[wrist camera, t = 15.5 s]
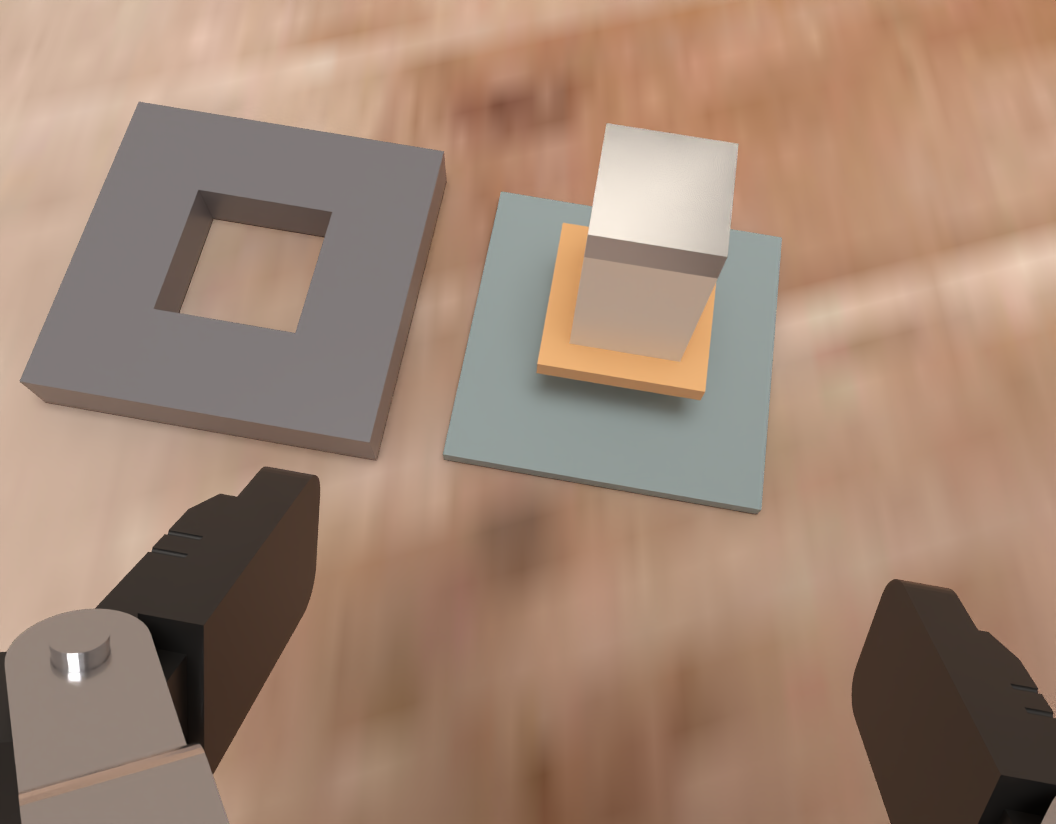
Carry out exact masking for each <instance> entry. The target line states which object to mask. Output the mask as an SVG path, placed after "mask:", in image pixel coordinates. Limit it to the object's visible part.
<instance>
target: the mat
mask: <svg viewBox="0 0 1056 824" xmlns="http://www.w3.org/2000/svg"><path fill="white" fill-rule="evenodd" d="M591 212H592V206H586V205H580V204H574V203H568V202H562V201H556V200H550V199H543V198H537V197H531V196H525V195H519V194H513V193H507V192H501V194H500V199H499V203H498V208H497V212H496V217H495V221H494V226H493V230H492V235H491V239H490V244H489V248H488V253H487V257H486V262H485V267H484V271H483V276H482V280H481V285H480V289H479V294H478V298H477V303H476V307H475V312H474V316H473V321H472V325H471V330H470V334H469V339H468V343H467V348H466V352H465V357H464V362H463V366H462V371H461V375H460V380H459V384H458V389H457V393H456V398H455V402H454V407H453V411H452V416H451V420H450V425H449V429H448V434H447V438H446V443H445V448H444V452H443V457H444V460H450V461H456V462H462V463H467V464H473V465H479V466H484V467H490V468H496V469H502V470H507V471H513V472H519V473H524V474H530V475H536V476H542V477H547V478H553V479H559V480H565V481H570V482H576V483H582V484H587V485H593V486H599V487H605V488H610V489H616V490H622V491H627V492H633V493H639V494H645V495H650V496H656V497H662V498H668V499H673V500H679V501H685V502H690V503H696V504H702V505H708V506H713V507H719V508H725V509H730V510H736V511H742V512H748V513H753V514H758V513H759V512H760V511H761V507H762V494H763V481H764V467H765V454H766V441H767V428H768V414H769V401H770V388H771V374H772V361H773V348H774V335H775V321H776V308H777V295H778V282H779V268H780V255H781V242H782V238H781V237H775V236H769V235H763V234H757V233H751V232H744V231H738V230H732V229H730V237H729V247H728V257H727V259H726V262H725V264H724V266H723V268H722V270H721V273H720V275H719V277H718V279H717V281H716V290H715V300H714V310H713V320H712V330H711V340H710V350H709V360H708V370H707V380H706V390H705V393H704V395H703V397H702V399H701V400H695V399H689V398H683V397H677V396H671V395H665V394H659V393H653V392H647V391H641V390H635V389H629V388H623V387H617V386H611V385H605V384H599V383H593V382H587V381H581V380H575V379H569V378H563V377H557V376H551V375H545V374H539V373H536V372H537V363H538V357H539V352H540V346H541V341H542V335H543V330H544V324H545V318H546V313H547V307H548V302H549V296H550V291H551V285H552V280H553V274H554V269H555V263H556V258H557V252H558V247H559V241H560V236H561V230H562V224H563V223H568V224H575V225H581V226H587V227H589V224H590V218H591Z"/></svg>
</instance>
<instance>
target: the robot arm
mask: <svg viewBox="0 0 1056 824" xmlns="http://www.w3.org/2000/svg"><path fill="white" fill-rule="evenodd" d="M319 503H320V482H319V478H318V477H317V476H316V475H311V474H305V473H300V472H294V471H288V470H283V469H277V468H271V467H263V468H262V469H261V470H260V471H259V472H258V473H257V474H256V476H255V477H254V478H253V479H252V480H251V481H250V483H249V484H248V485H247V486H246V487H245V488H244V490H243V491H242V492H241V493H240V494H239V495H238V497H235V496H230V495H224V494H219V495H216V496H214V497H212V498H210V499H208V500H206V501H204V502H202V503H200V504H198V505H196V506H194V507H192V508H190V509H188V510H187V511H186V512H185V513H184V515H183V516H182V517H181V518H180V519H179V520H178V521H177V522H176V523H175V524H174V525H173V526H172V527H171V528H170V529H169V532H168V535H166V534H165V535H164V536H163V537H162V538H161V539H160V540H159V541H158V542H157V543H156V544H155V545H154V546H153V548H152V552H148V553H147V554H146V555H145V556H144V557H143V558H142V559H141V560H140V561H139V562H138V563H137V564H136V566H135V567H134V568H133V569H132V570H131V571H130V572H129V573H128V574H127V575H126V576H125V577H124V578H123V579H122V580H121V582H120V583H119V584H118V585H117V586H116V587H115V588H114V589H113V590H112V591H111V592H110V593H109V594H108V595H107V596H106V597H105V599H104V600H103V601H102V602H101V603H100V604H99V605H98V606H97V607H96V608H95V609H83V610H76V611H70V612H66V613H62V614H58V615H56V616H53V617H50V618H47V619H45V620H43V621H41V622H38V623H37V624H35V625H33V626H31V627H30V628H28V629H27V630H25V631H24V632H23V633H22V634H20V635H19V636H18V637H17V638H16V639H15V640H14V641H13V642H12V644H11V646H10V647H9V649H8V650H7V652H0V824H229V821H228V818H227V815H226V812H225V809H224V807H223V804H222V801H221V798H220V795H219V792H218V789H217V786H216V783H215V780H214V777H213V774H214V772H215V770H216V768H217V767H218V765H219V763H220V761H221V759H222V758H223V756H224V754H225V752H226V751H227V749H228V747H229V745H230V744H231V742H232V740H233V738H234V736H235V735H236V733H237V731H238V729H239V728H240V726H241V724H242V722H243V721H244V719H245V717H246V715H247V713H248V712H249V710H250V708H251V706H252V705H253V703H254V701H255V699H256V698H257V696H258V694H259V692H260V690H261V689H262V687H263V685H264V683H265V682H266V680H267V678H268V676H269V675H270V673H271V671H272V669H273V667H274V666H275V664H276V662H277V660H278V659H279V657H280V655H281V653H282V652H283V650H284V648H285V646H286V644H287V643H288V641H289V639H290V637H291V636H292V634H293V632H294V630H295V629H296V627H297V625H298V623H299V621H300V620H301V618H302V616H303V614H304V612H305V610H306V608H307V605H308V603H309V600H310V596H311V593H312V589H313V584H314V579H315V572H316V557H317V539H318V521H319ZM852 708H853V713H854V717H855V720H856V723H857V726H858V729H859V732H860V735H861V738H862V740H863V743H864V746H865V749H866V752H867V755H868V758H869V761H870V764H871V767H872V770H873V773H874V776H875V779H876V782H877V784H878V787H879V790H880V793H881V796H882V799H883V802H884V805H885V808H886V811H887V814H888V817H889V820H890V823H891V824H1056V718H1053V711H1052V709H1051V708H1050V706H1049V705H1048V703H1047V702H1046V700H1045V699H1044V697H1043V695H1042V694H1038V688H1037V686H1036V685H1035V683H1034V681H1033V680H1032V678H1031V677H1030V675H1029V674H1028V672H1027V670H1026V669H1025V667H1024V666H1023V664H1022V663H1021V661H1020V660H1019V659H1018V658H1017V657H1016V656H1015V655H1014V654H1013V653H1011V652H1010V651H1009V650H1008V649H1007V648H1006V647H1005V646H1003V645H1002V644H1001V643H1000V642H999V641H998V640H997V639H995V638H994V637H993V636H992V635H991V634H990V633H989V632H985V631H979V630H978V629H977V628H976V626H975V625H974V623H973V621H972V620H971V618H970V616H969V615H968V613H967V611H966V610H965V608H964V606H963V605H962V603H961V601H960V600H959V598H958V596H957V595H956V593H955V592H954V591H953V590H951V589H949V588H943V587H938V586H932V585H926V584H921V583H915V582H909V581H904V580H898V579H894V580H892V581H890V582H889V583H888V585H887V586H886V588H885V590H884V592H883V594H882V596H881V599H880V602H879V605H878V608H877V610H876V613H875V616H874V619H873V621H872V624H871V627H870V630H869V632H868V635H867V638H866V641H865V644H864V646H863V649H862V652H861V655H860V657H859V660H858V663H857V666H856V669H855V672H854V677H853V683H852Z"/></svg>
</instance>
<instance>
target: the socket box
mask: <svg viewBox="0 0 1056 824" xmlns="http://www.w3.org/2000/svg"><path fill="white" fill-rule="evenodd" d="M445 185H446V170H445V158H444V151H438V150H432V149H426V148H420V147H414V146H407V145H401V144H395V143H389V142H383V141H377V140H371V139H364V138H358V137H352V136H346V135H340V134H334V133H328V132H321V131H315V130H309V129H303V128H297V127H291V126H285V125H279V124H272V123H266V122H260V121H254V120H248V119H242V118H236V117H229V116H223V115H217V114H211V113H205V112H199V111H193V110H186V109H180V108H174V107H168V106H162V105H156V104H150V103H143V102H139V103H138V105H137V107H136V110H135V112H134V114H133V117H132V119H131V121H130V124H129V126H128V128H127V131H126V133H125V135H124V138H123V140H122V142H121V145H120V147H119V149H118V152H117V154H116V156H115V159H114V161H113V164H112V166H111V168H110V171H109V173H108V175H107V178H106V180H105V182H104V185H103V187H102V189H101V192H100V194H99V196H98V199H97V201H96V203H95V206H94V208H93V210H92V213H91V215H90V217H89V220H88V222H87V225H86V227H85V229H84V232H83V234H82V236H81V239H80V241H79V243H78V246H77V248H76V250H75V253H74V255H73V257H72V260H71V262H70V264H69V267H68V269H67V271H66V274H65V276H64V278H63V281H62V283H61V286H60V288H59V290H58V293H57V295H56V297H55V300H54V302H53V304H52V307H51V309H50V311H49V314H48V316H47V318H46V321H45V323H44V325H43V328H42V330H41V332H40V335H39V337H38V339H37V342H36V344H35V346H34V349H33V351H32V354H31V356H30V358H29V361H28V363H27V365H26V368H25V370H24V372H23V375H22V377H21V379H20V382H21V383H22V384H23V385H25V386H26V387H27V388H28V389H30V390H31V391H32V392H33V393H35V394H36V395H37V396H38V397H40V398H41V399H42V400H43V401H45V402H46V403H52V404H58V405H63V406H69V407H75V408H80V409H86V410H92V411H98V412H103V413H109V414H115V415H120V416H126V417H132V418H138V419H143V420H149V421H155V422H160V423H166V424H172V425H177V426H183V427H189V428H195V429H200V430H206V431H212V432H217V433H223V434H229V435H235V436H240V437H246V438H252V439H257V440H263V441H269V442H274V443H280V444H286V445H292V446H297V447H303V448H309V449H314V450H320V451H326V452H332V453H337V454H343V455H349V456H354V457H360V458H366V459H371V460H377V457H378V453H379V449H380V445H381V441H382V437H383V433H384V429H385V425H386V421H387V417H388V413H389V409H390V405H391V401H392V397H393V393H394V389H395V385H396V381H397V377H398V373H399V369H400V365H401V361H402V357H403V353H404V349H405V345H406V341H407V337H408V333H409V329H410V325H411V321H412V317H413V313H414V309H415V305H416V301H417V297H418V293H419V289H420V285H421V281H422V277H423V273H424V269H425V265H426V261H427V257H428V253H429V249H430V245H431V241H432V237H433V233H434V229H435V225H436V221H437V217H438V213H439V209H440V205H441V201H442V197H443V193H444V189H445ZM213 218H214V219H220V220H226V221H232V222H238V223H244V224H250V225H256V226H262V227H268V228H274V229H280V230H286V231H292V232H298V233H304V234H310V235H316V236H322V237H325V238H324V241H323V244H322V248H321V251H320V254H319V257H318V261H317V264H316V267H315V271H314V274H313V277H312V280H311V284H310V287H309V290H308V294H307V297H306V300H305V303H304V307H303V310H302V313H301V317H300V320H299V323H298V326H297V330H296V333H292V332H286V331H280V330H274V329H268V328H262V327H257V326H251V325H245V324H239V323H233V322H227V321H221V320H216V319H210V318H204V317H198V316H192V315H186V314H180V313H179V311H180V308H181V306H182V303H183V300H184V297H185V295H186V292H187V289H188V286H189V284H190V281H191V278H192V275H193V273H194V270H195V267H196V264H197V262H198V259H199V256H200V253H201V251H202V248H203V245H204V242H205V240H206V237H207V234H208V231H209V229H210V226H211V223H212V220H213Z"/></svg>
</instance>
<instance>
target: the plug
mask: <svg viewBox="0 0 1056 824" xmlns="http://www.w3.org/2000/svg"><path fill="white" fill-rule="evenodd" d="M737 154H738V144H736V143H730V142H724V141H717V140H711V139H704V138H698V137H692V136H685V135H679V134H673V133H666V132H660V131H654V130H647V129H641V128H634V127H628V126H622V125H615V124H609V123H607V124H606V130H605V136H604V142H603V147H602V153H601V159H600V165H599V171H598V177H597V183H596V188H595V194H594V200H593V206H592V212H591V218H590V224H589V227H587V226H581V225H575V224H568V223H563V224H562V230H561V236H560V241H559V247H558V252H557V258H556V263H555V269H554V274H553V280H552V285H551V291H550V296H549V302H548V307H547V313H546V318H545V324H544V330H543V335H542V341H541V346H540V352H539V357H538V363H537V372H536V373H539V374H545V375H551V376H557V377H563V378H569V379H575V380H581V381H587V382H593V383H599V384H605V385H611V386H617V387H623V388H629V389H635V390H641V391H647V392H653V393H659V394H665V395H671V396H677V397H683V398H689V399H695V400H701V399H702V397H703V395H704V393H705V390H706V380H707V370H708V360H709V350H710V340H711V330H712V320H713V310H714V300H715V290H716V281H717V279H718V277H719V275H720V273H721V270H722V268H723V266H724V264H725V262H726V259H727V257H728V247H729V237H730V226H731V216H732V206H733V195H734V185H735V174H736V164H737Z"/></svg>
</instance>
